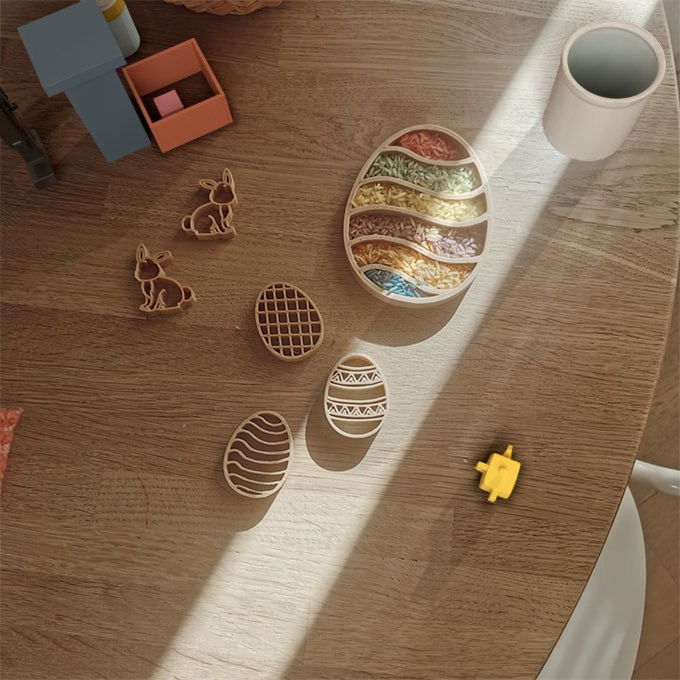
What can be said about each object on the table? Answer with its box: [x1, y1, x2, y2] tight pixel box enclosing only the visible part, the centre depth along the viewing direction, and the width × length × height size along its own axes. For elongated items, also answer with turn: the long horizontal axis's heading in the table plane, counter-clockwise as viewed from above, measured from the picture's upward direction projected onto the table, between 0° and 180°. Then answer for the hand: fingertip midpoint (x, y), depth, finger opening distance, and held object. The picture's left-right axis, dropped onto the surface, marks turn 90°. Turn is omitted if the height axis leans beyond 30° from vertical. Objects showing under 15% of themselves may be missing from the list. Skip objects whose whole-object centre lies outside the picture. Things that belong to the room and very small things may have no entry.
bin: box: [121, 37, 234, 154], centre depth 124 cm, size 13×13×8 cm
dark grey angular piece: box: [11, 112, 59, 192], centre depth 117 cm, size 4×10×11 cm, turn 27°
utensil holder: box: [542, 18, 667, 162], centre depth 115 cm, size 15×15×18 cm
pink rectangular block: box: [153, 89, 185, 119], centre depth 126 cm, size 4×4×4 cm
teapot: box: [474, 444, 521, 503], centre depth 102 cm, size 8×6×5 cm
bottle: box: [79, 0, 141, 59], centre depth 127 cm, size 7×7×15 cm
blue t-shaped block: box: [16, 0, 152, 164], centre depth 116 cm, size 12×12×24 cm
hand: (31, 149), depth 119 cm, fingers closed on dark grey angular piece, 3 cm apart
